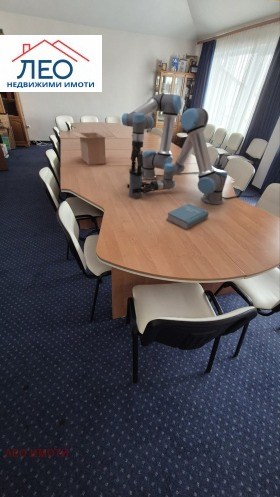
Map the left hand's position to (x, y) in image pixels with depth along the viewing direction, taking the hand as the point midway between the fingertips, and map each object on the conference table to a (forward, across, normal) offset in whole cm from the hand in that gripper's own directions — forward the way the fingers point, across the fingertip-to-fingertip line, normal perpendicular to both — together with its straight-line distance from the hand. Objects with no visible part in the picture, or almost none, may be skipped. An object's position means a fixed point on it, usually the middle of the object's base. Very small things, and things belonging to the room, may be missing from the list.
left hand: (136, 173), depth 159 cm
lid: (-2, 0, 0) cm, 2 cm away
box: (+17, -96, -13) cm, 99 cm away
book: (+17, +43, +21) cm, 51 cm away
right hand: (+11, 0, -4) cm, 12 cm away
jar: (+17, 0, 0) cm, 17 cm away
